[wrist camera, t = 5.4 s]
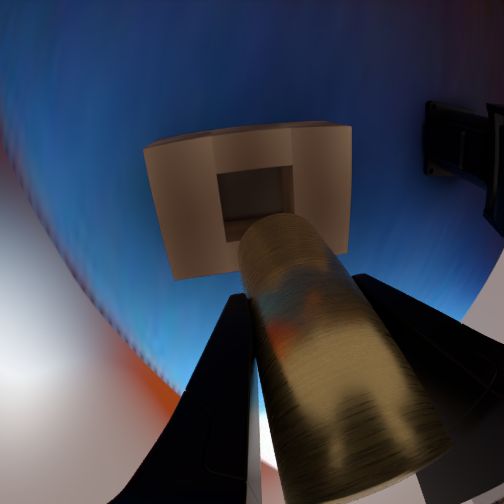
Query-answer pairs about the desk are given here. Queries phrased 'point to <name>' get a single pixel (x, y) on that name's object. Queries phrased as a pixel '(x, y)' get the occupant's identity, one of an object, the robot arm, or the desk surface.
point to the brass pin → (330, 372)
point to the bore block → (247, 188)
